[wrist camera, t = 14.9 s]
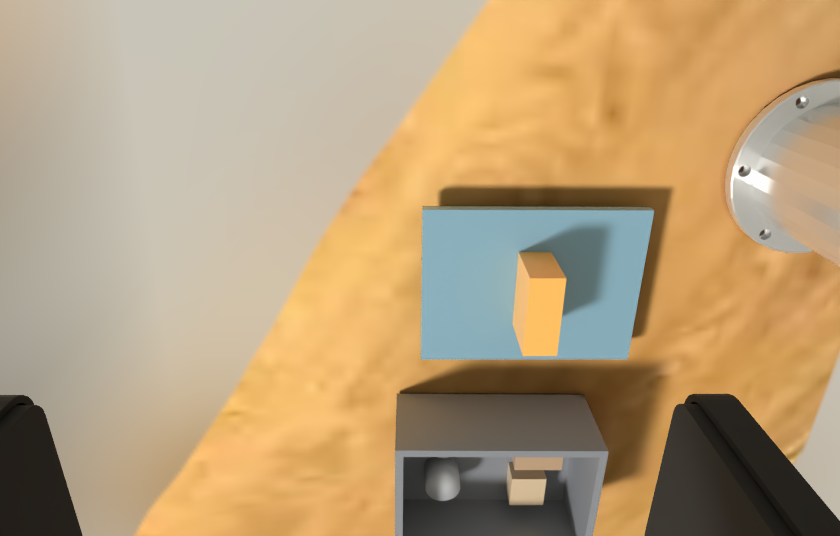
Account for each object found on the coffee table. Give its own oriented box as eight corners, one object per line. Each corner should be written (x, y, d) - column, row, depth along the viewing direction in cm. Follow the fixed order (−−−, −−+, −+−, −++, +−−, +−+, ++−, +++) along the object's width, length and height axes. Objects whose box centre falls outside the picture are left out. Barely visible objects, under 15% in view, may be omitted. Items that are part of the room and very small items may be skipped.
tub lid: (644, 201, 43) (681, 233, 37) (619, 345, 48) (648, 393, 42) (422, 201, 43) (424, 232, 37) (420, 346, 48) (422, 393, 42)
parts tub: (583, 394, 50) (608, 451, 44) (566, 499, 55) (587, 564, 49) (397, 393, 50) (395, 450, 44) (396, 499, 55) (395, 564, 49)
